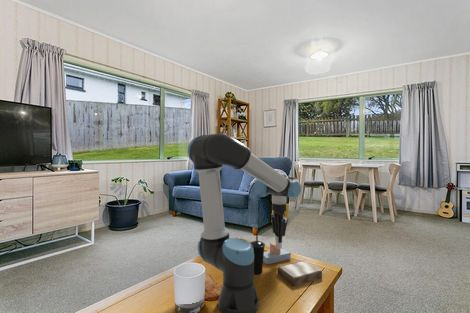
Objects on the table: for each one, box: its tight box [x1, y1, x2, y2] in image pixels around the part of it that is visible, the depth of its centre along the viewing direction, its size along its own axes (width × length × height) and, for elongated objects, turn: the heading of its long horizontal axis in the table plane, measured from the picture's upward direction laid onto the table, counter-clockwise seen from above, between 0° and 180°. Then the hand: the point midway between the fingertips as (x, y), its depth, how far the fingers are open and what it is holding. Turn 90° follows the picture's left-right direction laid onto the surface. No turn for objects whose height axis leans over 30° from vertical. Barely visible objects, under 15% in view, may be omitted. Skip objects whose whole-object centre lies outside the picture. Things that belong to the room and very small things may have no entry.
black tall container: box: [249, 230, 266, 276], centre depth 116 cm, size 8×8×20 cm
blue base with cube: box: [263, 241, 292, 265], centre depth 130 cm, size 15×7×8 cm, turn 115°
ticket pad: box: [277, 259, 323, 287], centre depth 113 cm, size 16×12×4 cm
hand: (278, 248), depth 127 cm, fingers closed
